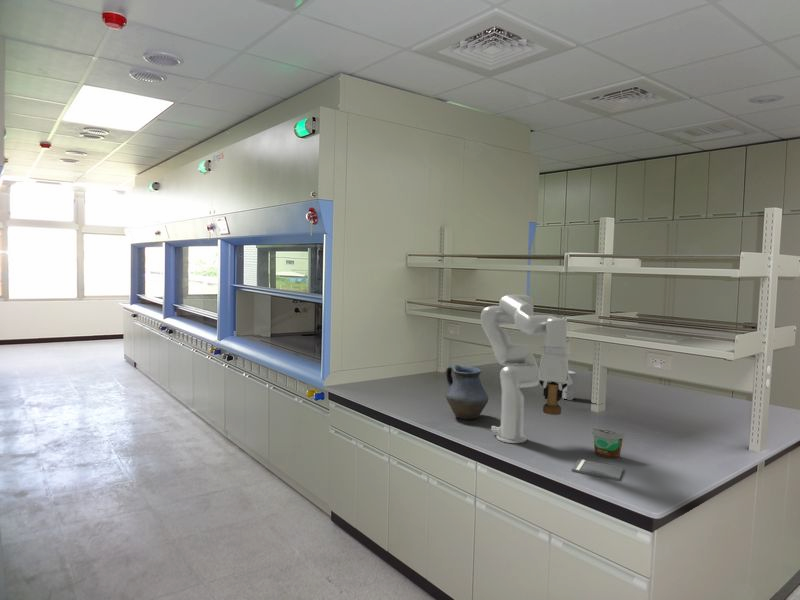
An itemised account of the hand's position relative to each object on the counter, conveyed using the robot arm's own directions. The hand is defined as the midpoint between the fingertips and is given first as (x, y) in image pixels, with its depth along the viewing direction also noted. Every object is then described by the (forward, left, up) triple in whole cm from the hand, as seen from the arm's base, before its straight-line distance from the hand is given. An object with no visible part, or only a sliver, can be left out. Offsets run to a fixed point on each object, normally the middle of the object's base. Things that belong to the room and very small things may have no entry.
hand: (552, 398), depth 203 cm
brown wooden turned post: (0, 0, -6) cm, 6 cm away
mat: (+17, 0, -24) cm, 30 cm away
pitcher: (-51, +39, -24) cm, 68 cm away
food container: (+17, +18, -24) cm, 35 cm away
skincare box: (-17, +107, -24) cm, 111 cm away
